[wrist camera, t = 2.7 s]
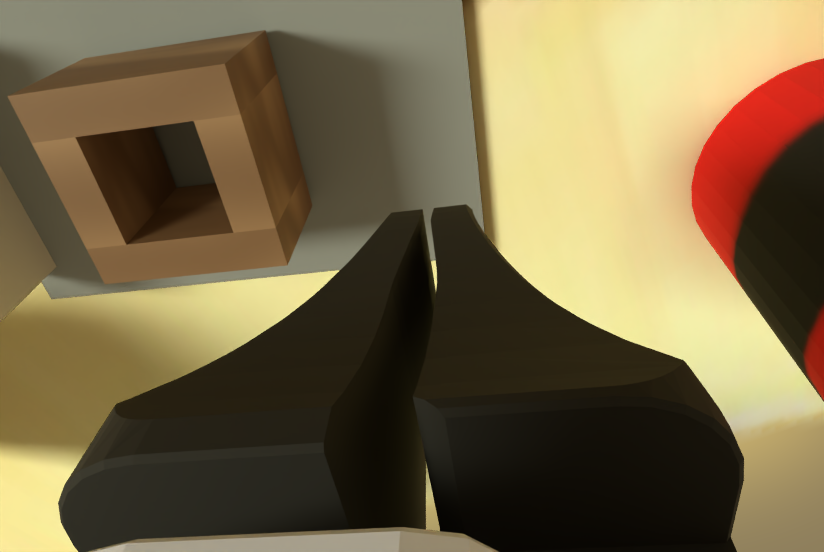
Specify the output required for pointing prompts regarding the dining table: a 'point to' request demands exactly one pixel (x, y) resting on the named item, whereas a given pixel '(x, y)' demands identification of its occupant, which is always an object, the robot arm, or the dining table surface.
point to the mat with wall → (307, 109)
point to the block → (146, 166)
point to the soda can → (772, 207)
